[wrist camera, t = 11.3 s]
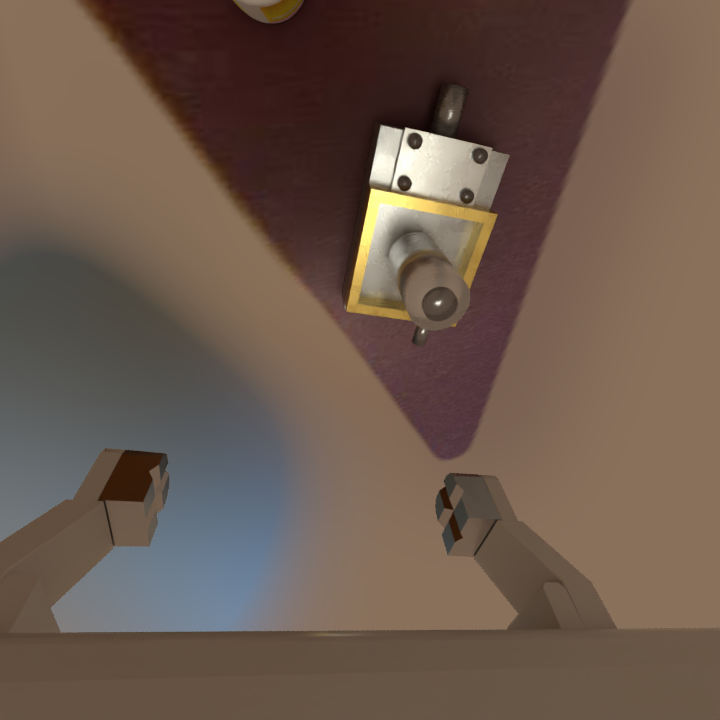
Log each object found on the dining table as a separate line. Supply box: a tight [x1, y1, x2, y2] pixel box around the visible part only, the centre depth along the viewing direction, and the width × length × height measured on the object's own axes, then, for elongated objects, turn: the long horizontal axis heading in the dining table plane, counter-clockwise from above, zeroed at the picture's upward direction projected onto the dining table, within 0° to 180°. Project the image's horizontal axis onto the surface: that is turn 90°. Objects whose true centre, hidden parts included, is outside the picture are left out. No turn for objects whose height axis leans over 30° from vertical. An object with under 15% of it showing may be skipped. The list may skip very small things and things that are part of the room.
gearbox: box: [342, 83, 509, 327], centre depth 40 cm, size 22×12×6 cm, turn 168°
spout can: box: [388, 232, 470, 346], centre depth 37 cm, size 7×5×11 cm
